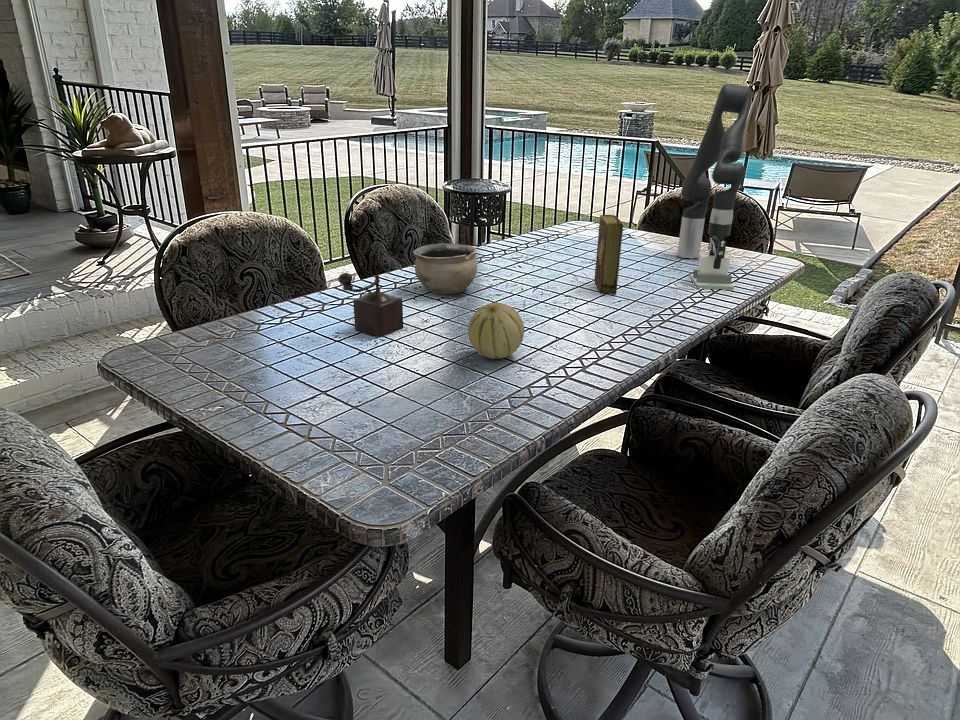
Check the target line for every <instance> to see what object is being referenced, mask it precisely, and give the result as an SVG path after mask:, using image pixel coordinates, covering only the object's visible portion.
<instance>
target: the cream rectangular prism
mask: <svg viewBox="0 0 960 720" xmlns="http://www.w3.org/2000/svg"><path fill="white" fill-rule="evenodd" d="M698 259H699V262H698V267H697V270H698V273H697V274H716V275H729V274H728V272H729V267H730V262H731V257H730V256H728V255H724V258H722V259H721V265H720V269H714V268H713V266H714V260H715V256H710V255H709V254H708V255H706V254H705V255H704V254H699V258H698Z"/></svg>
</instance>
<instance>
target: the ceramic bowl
mask: <svg viewBox="0 0 960 720" xmlns="http://www.w3.org/2000/svg"><path fill="white" fill-rule="evenodd" d="M413 255H414V257H415V258H416V259H415V262H414V273H415V276H416V278H417V280H418V281H419V282H420V284H422V286H423V287H425V288H426V289H427V290H428V291H430V292H431V293H435V294H440V295H454V294H455V295H456V294H459V293H461V292H463V291H465V290H466V289H468V288H469V286H471V284H472V282H474V279H475V277H476V276H477V275H476V274H477V272H478V263H477V258H476V257H477V256H476V255H477V247H476V246H473V245H470V244H469V245H468V244H460V243H459V244H458V243H445V242H444V243H442V242H439V243H431V244H428V245H423V246H420V247H417V248H416V249H414V250H413Z"/></svg>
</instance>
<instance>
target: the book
mask: <svg viewBox="0 0 960 720" xmlns="http://www.w3.org/2000/svg"><path fill="white" fill-rule="evenodd" d="M623 230H624V222H623V221H622V220H620V218H619V217H617V215H616V214H615V215H614V214H600V215H599V225H598V234H597V235H598V236H597V246H596V257H595V258H596V259H595V267H594V269H595V270H594V282H593V283H595V284H594V286H595V285H596V286H595V288H596V287H597V288H596V290H597V289H598V290H597V291H599V292H598V293H599V294H600V295H604V294H606V295H607V294H608V295H617V289H618V280H619V272H620V271H619V270H620V260H621V251H622V250H621V249H622V244H623V243H622V242H623Z"/></svg>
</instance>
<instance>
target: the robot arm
mask: <svg viewBox="0 0 960 720" xmlns="http://www.w3.org/2000/svg"><path fill="white" fill-rule="evenodd" d="M752 98H753V91H752V89H751V87H749V86H745V85H738V84H731V83H726V84H724V85H722V87H721V89H720V91H719V93H718V96H717V98H716V102H715V104H714V107H713V112H712V113H711V114H712V115H711V118H710V120H709V122H708V126H707V127H706V130H705V133H704V135H703V137H702V139H701V141H700V144H699V146H698V150H697V151H696V152H697V153H696V155H695V158H694V161H693V163H692V166H691V167H690V169H689V171H688V173H687V175H686V177H685V179H684V181H683V184H682V186H681V198H682V199H683V200H685V201H688V202H689V201H691V202H692V201H693V202H695V201H696V203H695V204H693V205H692V206H689V207H686V208H685V209H683V212H682V217H681V224H680V231H679V236H678V237H679V239H678V245H677V252H676V257H677V256H679V257H683V258H690V259H689V260H695V259H694V258H698V259H700V255H701V254H700V253H701V248H702V241H703V240H702V239H703V235H704V228H705V227H704V226H705V220H706V214H707V211H708V206H709V201H710V197H711V192H712V182H711V180H710V178H707V177H701V176H702V175H703V174H704V173H705V172H707V171H708V170H710V169H711V167H713V166H714V168H713V170H712V174H711V177H712V181H713V182H714V183H715V184H718V185H731V186H730V187H729V188H728V189H726V190H719V191H716V192H715V193H714V195H713V203H712V207H711V208H712V209H711V213H710V218H709V224H708V231H707V232H708V235H709V239H708V240H709V241H708V246H707V250H708V253H709V254H708V255H710V256H715V260H714V266H713V268H714V269H720V265H721V259H722V258H724V256H726V253H725V252H726V247H727V241H725V240H724V239H725V237H729V236H730V235H731V231H732V224H733V219H734V208H735V202H736V197H737V194H738V191H739V189H740V186H741V184H742V183H743V180H744V178H745V175H746V168H745V166H744V165H743V164H742V163H737V162H738V161H739V160H740V159H741V156H742V150H743V149H742V148H743V138H744V133H745V129H746V125H747V120H748V117H749V112H750V107H751V103H752ZM724 113H733V114H738V115H737V117H736V119H735V121H734V122H733V123H732V124H731V125H730V126H729V127H728V128H727V129H726V130H725V127H724V124H723V114H724ZM679 257H678V258H679ZM683 258H682V259H683ZM692 258H693V259H692Z"/></svg>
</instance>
